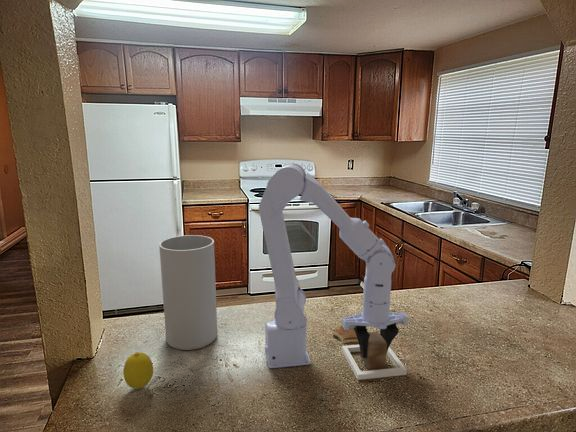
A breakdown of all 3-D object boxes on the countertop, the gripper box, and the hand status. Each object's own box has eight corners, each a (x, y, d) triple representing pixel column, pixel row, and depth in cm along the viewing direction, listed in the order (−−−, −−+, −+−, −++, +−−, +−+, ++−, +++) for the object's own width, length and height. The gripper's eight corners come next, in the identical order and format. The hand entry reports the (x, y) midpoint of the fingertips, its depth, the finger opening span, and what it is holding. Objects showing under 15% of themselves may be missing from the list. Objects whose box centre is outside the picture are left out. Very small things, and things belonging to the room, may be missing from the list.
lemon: (145, 376, 81) (142, 342, 79) (159, 387, 78) (157, 351, 76) (120, 389, 77) (116, 353, 75) (134, 401, 74) (130, 364, 72)
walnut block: (368, 369, 84) (369, 345, 82) (360, 356, 89) (361, 333, 87) (385, 367, 84) (387, 343, 83) (376, 355, 89) (378, 331, 88)
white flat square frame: (357, 379, 80) (357, 374, 80) (341, 350, 91) (342, 346, 91) (406, 374, 82) (406, 369, 82) (385, 346, 93) (385, 342, 92)
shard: (382, 343, 95) (382, 336, 95) (366, 356, 90) (366, 349, 89) (345, 327, 102) (346, 321, 102) (328, 339, 97) (329, 332, 96)
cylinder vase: (227, 331, 99) (224, 238, 94) (196, 356, 88) (191, 253, 82) (188, 321, 104) (183, 232, 99) (155, 344, 93) (147, 246, 88)
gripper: (350, 309, 78) (347, 368, 81) (416, 304, 80) (411, 361, 83) (340, 294, 85) (338, 349, 88) (401, 290, 87) (397, 344, 90)
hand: (373, 354), depth 86 cm, fingers closed on walnut block, 4 cm apart
